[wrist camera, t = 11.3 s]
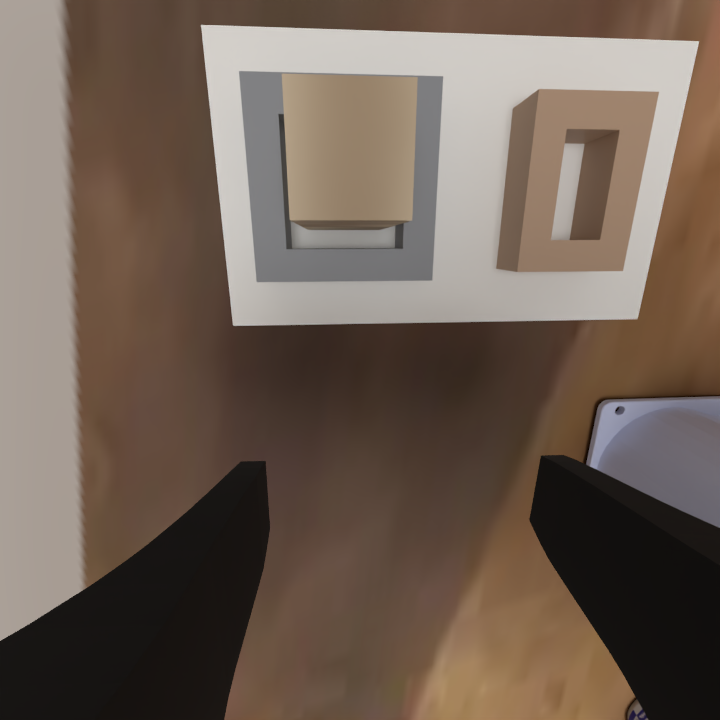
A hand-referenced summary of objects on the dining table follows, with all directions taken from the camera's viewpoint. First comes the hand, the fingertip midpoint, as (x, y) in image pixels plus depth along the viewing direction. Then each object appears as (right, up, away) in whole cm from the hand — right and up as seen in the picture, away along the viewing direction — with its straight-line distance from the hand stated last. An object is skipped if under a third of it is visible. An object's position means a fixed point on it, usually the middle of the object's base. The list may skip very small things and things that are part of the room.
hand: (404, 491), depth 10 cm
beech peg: (-2, +10, +6) cm, 12 cm away
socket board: (+3, +11, +7) cm, 13 cm away
